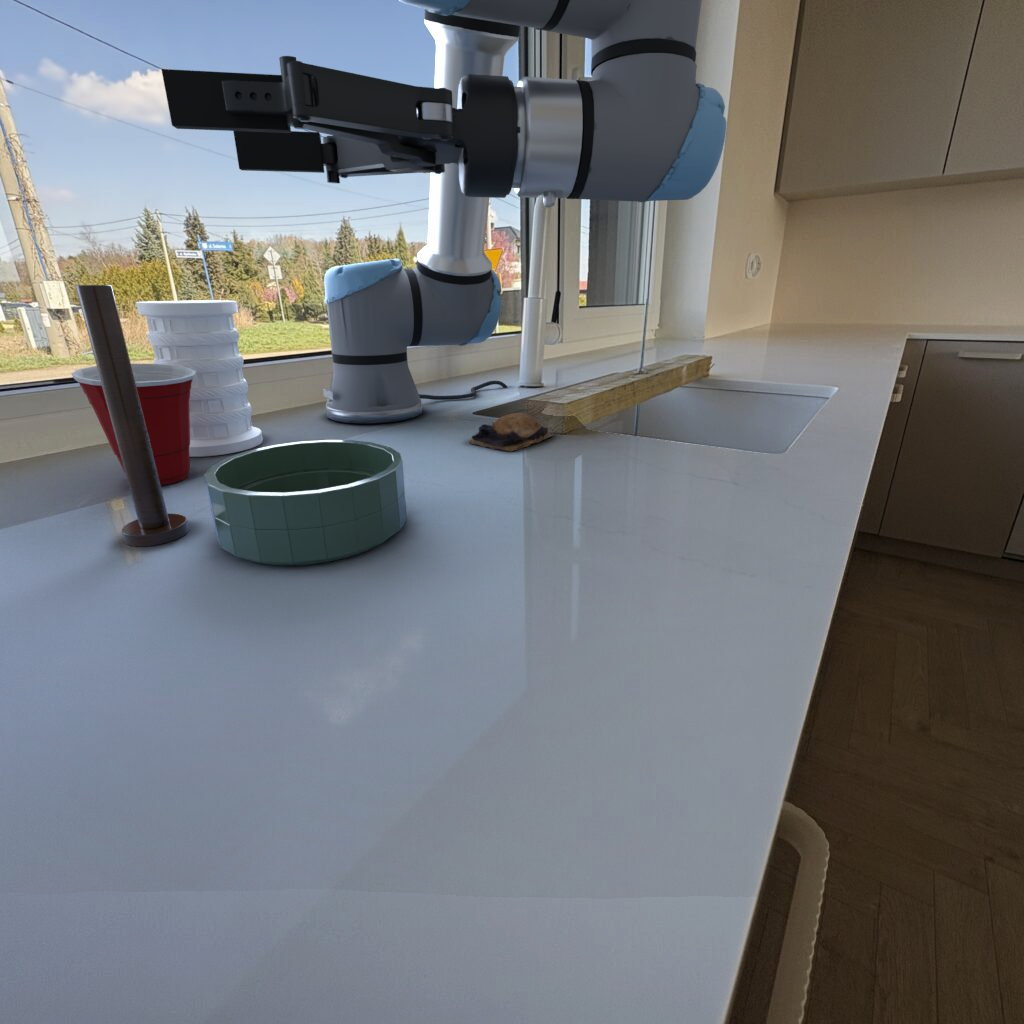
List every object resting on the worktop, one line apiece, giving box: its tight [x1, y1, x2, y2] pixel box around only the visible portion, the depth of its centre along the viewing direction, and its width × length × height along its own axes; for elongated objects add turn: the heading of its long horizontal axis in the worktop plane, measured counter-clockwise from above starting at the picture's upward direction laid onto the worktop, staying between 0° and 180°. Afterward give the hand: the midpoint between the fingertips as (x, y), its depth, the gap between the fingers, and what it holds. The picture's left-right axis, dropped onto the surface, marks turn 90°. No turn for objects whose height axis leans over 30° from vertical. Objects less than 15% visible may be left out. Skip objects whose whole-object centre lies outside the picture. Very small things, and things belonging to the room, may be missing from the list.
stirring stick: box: [74, 284, 190, 547], centre depth 45 cm, size 5×5×20 cm
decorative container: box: [135, 299, 264, 458], centre depth 73 cm, size 12×12×18 cm
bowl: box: [203, 439, 408, 566], centre depth 49 cm, size 16×16×6 cm
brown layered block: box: [468, 412, 554, 453], centre depth 78 cm, size 11×8×4 cm
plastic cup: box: [70, 363, 196, 486], centre depth 61 cm, size 11×11×12 cm
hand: (208, 128), depth 39 cm, fingers open, 13 cm apart
